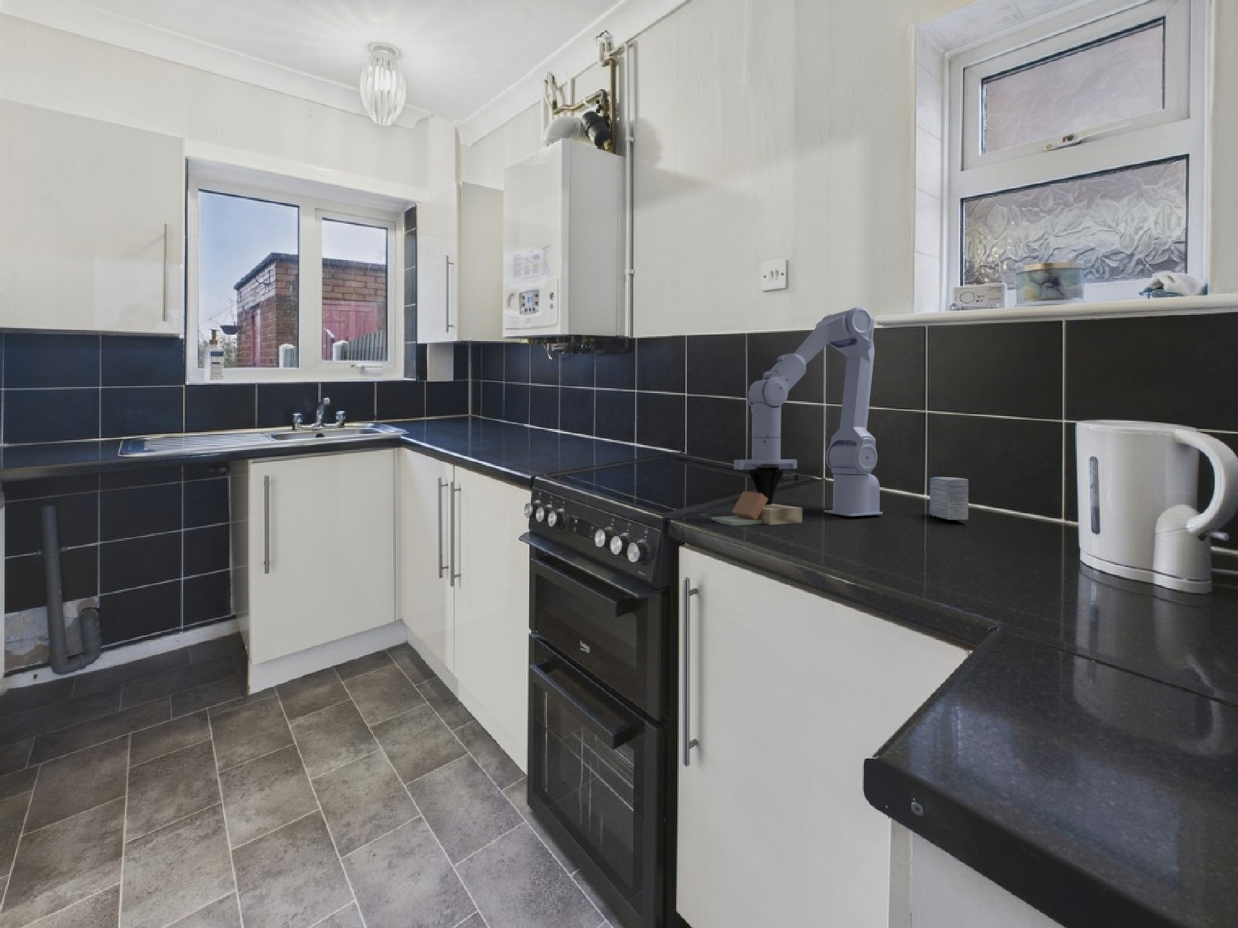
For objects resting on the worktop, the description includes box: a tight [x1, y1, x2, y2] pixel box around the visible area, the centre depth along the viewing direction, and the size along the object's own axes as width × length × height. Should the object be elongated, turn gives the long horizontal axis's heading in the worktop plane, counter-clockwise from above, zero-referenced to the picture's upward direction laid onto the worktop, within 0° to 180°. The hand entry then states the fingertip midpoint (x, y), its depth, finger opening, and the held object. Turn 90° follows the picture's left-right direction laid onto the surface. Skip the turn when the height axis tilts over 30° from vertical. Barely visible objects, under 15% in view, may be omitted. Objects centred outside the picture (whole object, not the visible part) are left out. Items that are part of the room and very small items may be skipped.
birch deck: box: [757, 503, 803, 526], centre depth 124 cm, size 8×9×3 cm
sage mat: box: [710, 515, 763, 527], centre depth 122 cm, size 7×8×1 cm
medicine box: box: [929, 476, 969, 521], centre depth 131 cm, size 8×4×9 cm, turn 179°
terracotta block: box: [731, 490, 768, 520], centre depth 123 cm, size 5×6×2 cm
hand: (765, 504), depth 124 cm, fingers closed
